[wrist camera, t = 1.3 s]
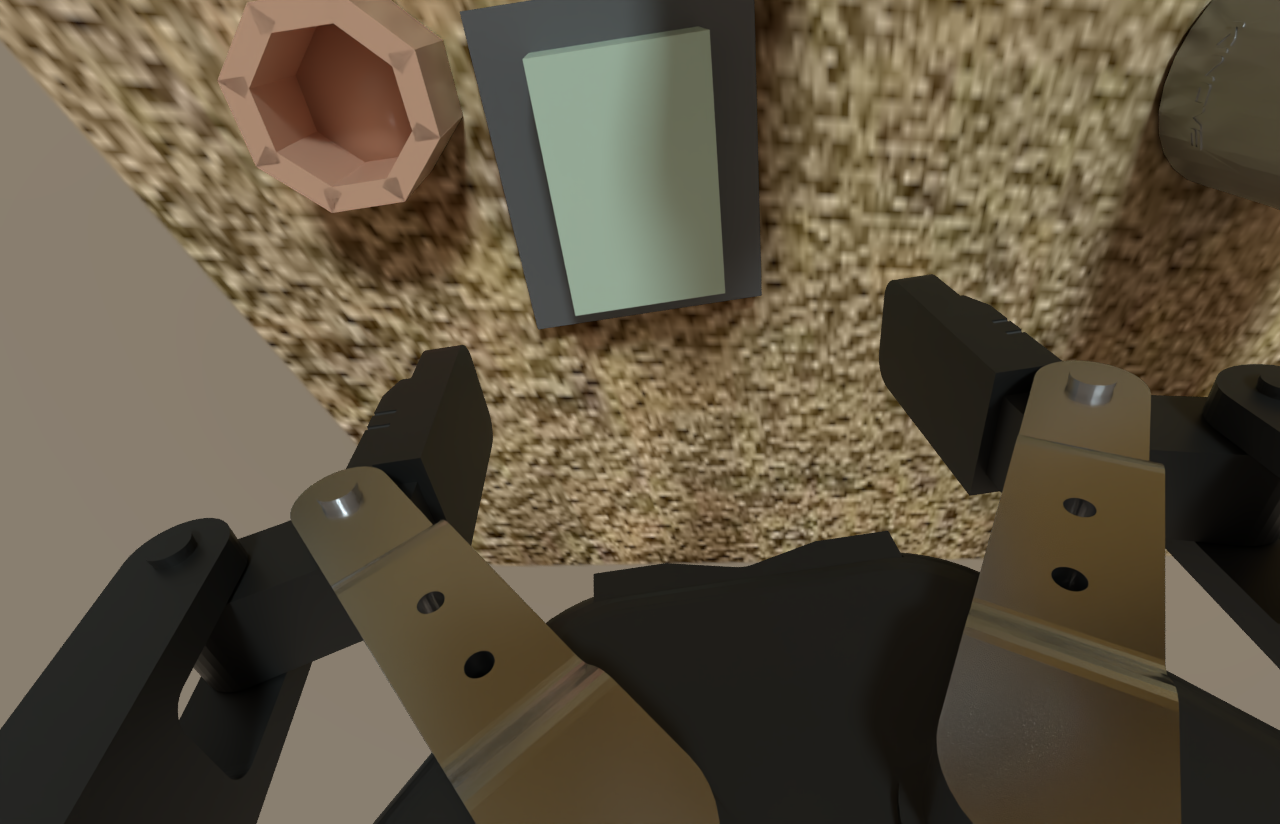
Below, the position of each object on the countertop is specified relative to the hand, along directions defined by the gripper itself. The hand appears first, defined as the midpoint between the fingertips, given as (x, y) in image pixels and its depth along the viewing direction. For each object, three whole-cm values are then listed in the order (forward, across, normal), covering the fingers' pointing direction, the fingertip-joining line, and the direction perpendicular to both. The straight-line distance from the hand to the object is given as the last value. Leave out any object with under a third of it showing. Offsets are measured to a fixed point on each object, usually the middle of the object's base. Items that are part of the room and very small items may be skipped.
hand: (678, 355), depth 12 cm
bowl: (+16, +9, -4) cm, 19 cm away
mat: (+16, 0, 0) cm, 16 cm away
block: (+15, 0, 0) cm, 15 cm away
